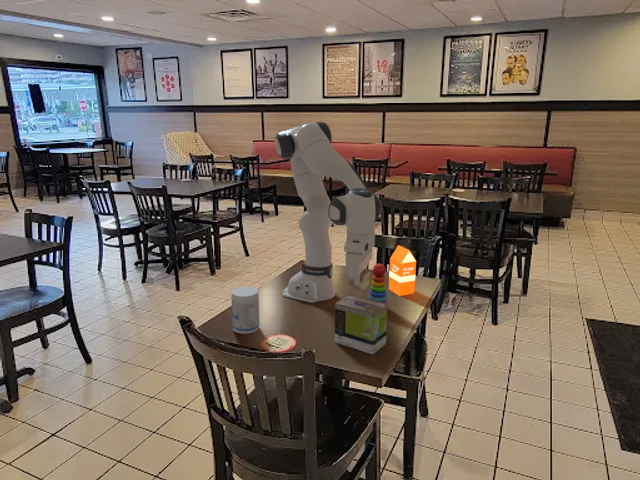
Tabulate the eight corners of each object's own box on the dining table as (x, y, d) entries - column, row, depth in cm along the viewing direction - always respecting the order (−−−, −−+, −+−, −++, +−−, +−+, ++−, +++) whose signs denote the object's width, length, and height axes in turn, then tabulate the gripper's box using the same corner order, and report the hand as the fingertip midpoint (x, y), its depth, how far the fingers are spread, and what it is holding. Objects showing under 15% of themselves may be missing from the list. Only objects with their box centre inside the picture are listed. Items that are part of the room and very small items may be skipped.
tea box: (387, 343, 154) (388, 303, 150) (372, 356, 147) (373, 313, 143) (349, 331, 163) (350, 293, 159) (333, 342, 155) (333, 302, 151)
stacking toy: (388, 313, 178) (390, 267, 173) (367, 312, 178) (369, 267, 173) (386, 305, 185) (388, 261, 180) (366, 304, 186) (368, 260, 181)
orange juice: (399, 296, 195) (401, 251, 189) (388, 289, 202) (390, 245, 197) (414, 293, 198) (417, 249, 192) (403, 286, 205) (405, 243, 200)
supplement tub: (227, 328, 165) (225, 290, 161) (249, 320, 171) (247, 284, 167) (242, 337, 158) (241, 298, 154) (265, 329, 164) (263, 291, 161)
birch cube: (348, 287, 148) (349, 273, 147) (354, 282, 152) (355, 268, 151) (363, 290, 146) (364, 276, 144) (368, 285, 150) (370, 271, 149)
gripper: (359, 231, 155) (358, 270, 159) (342, 247, 137) (341, 291, 140) (377, 233, 153) (376, 272, 157) (362, 249, 135) (361, 293, 138)
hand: (360, 281), depth 149 cm, fingers closed on birch cube, 5 cm apart
